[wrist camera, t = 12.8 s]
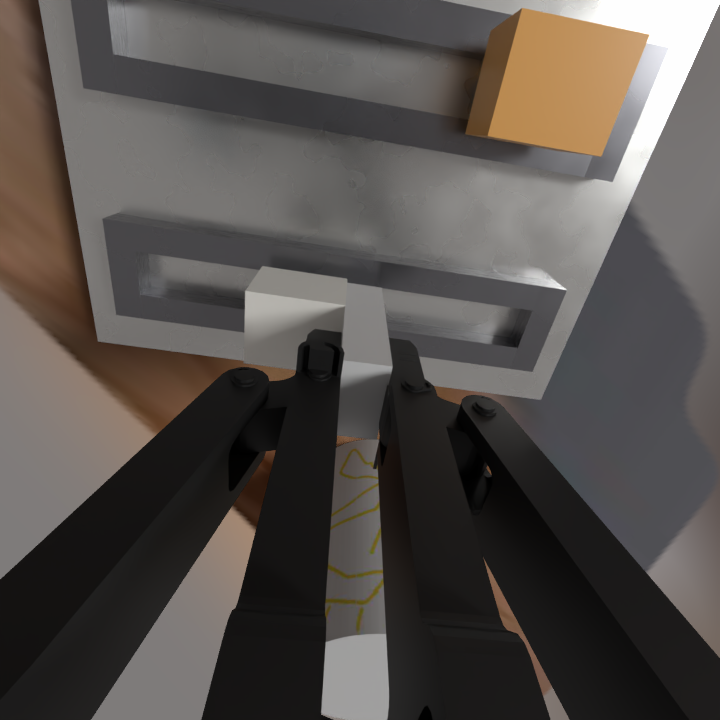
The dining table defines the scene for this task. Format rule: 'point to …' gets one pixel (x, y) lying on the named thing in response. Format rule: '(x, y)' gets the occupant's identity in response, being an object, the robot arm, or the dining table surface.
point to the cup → (355, 592)
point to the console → (342, 170)
